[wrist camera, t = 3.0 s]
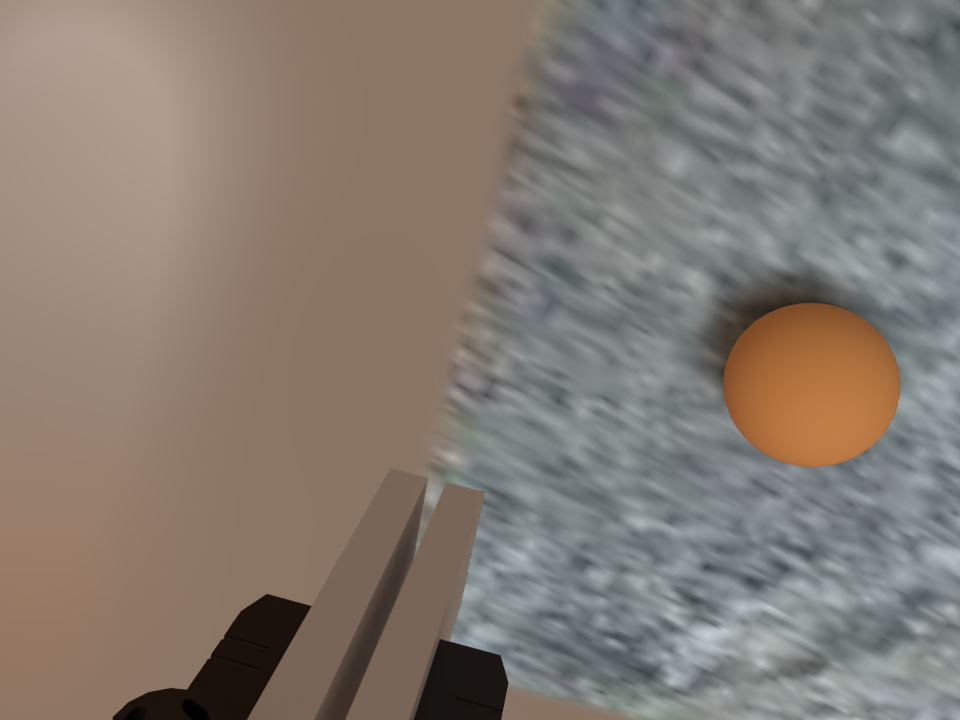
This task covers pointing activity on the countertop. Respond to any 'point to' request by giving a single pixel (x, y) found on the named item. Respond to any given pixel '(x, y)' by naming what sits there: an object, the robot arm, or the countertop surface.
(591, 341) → the countertop surface
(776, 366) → the ball
